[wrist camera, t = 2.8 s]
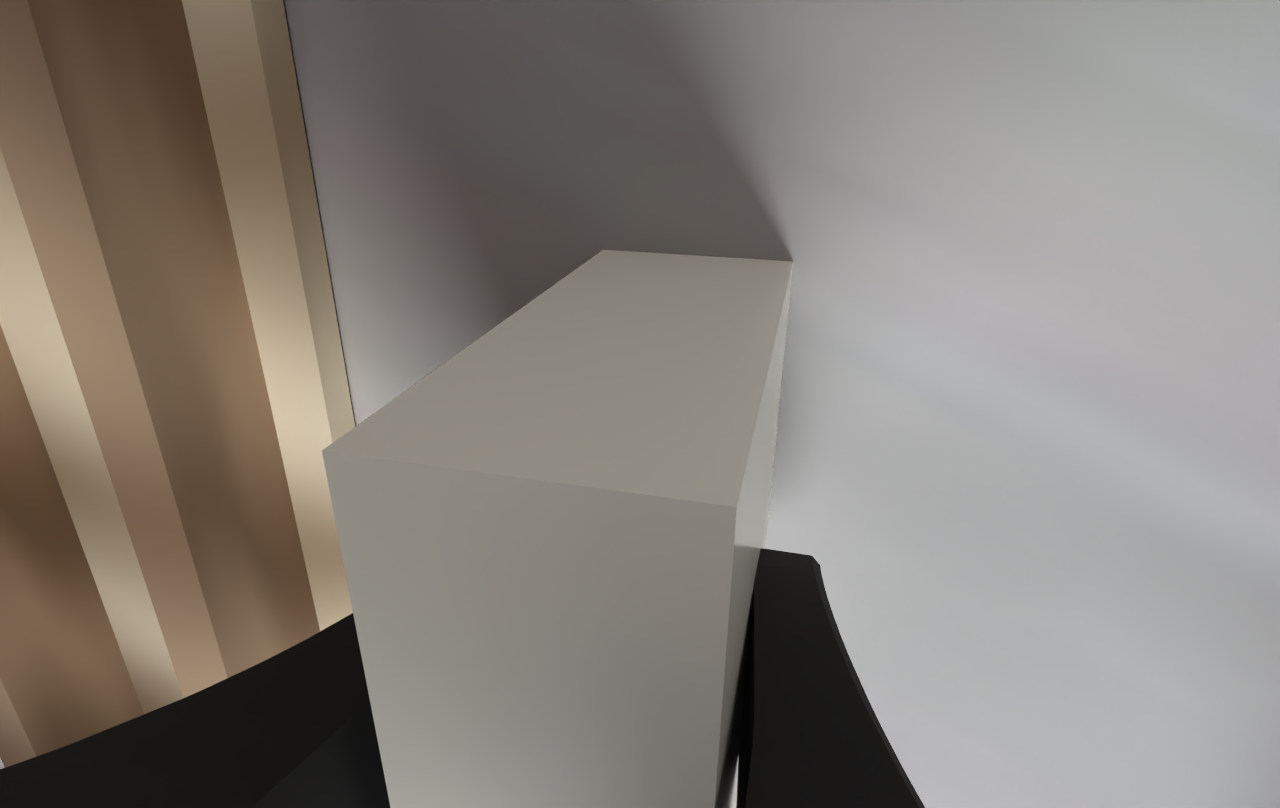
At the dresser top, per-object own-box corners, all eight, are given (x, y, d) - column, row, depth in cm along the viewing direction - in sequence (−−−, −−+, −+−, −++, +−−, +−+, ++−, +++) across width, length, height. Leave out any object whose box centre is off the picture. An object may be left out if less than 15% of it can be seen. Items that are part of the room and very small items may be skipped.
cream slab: (748, 723, 12) (684, 1205, 7) (608, 695, 13) (451, 1124, 8) (793, 260, 9) (736, 506, 4) (604, 248, 10) (321, 452, 4)
